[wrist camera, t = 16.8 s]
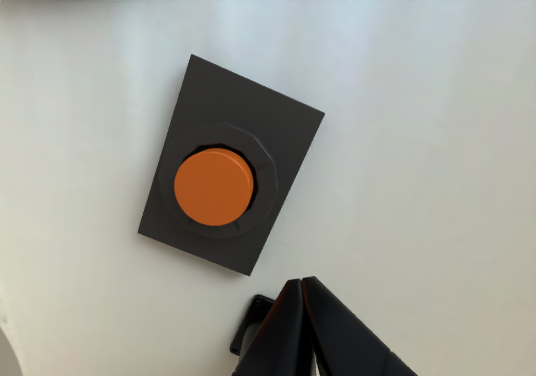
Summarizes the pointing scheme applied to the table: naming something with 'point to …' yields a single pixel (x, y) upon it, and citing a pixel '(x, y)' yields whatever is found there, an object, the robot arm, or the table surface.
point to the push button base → (240, 142)
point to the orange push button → (214, 186)
